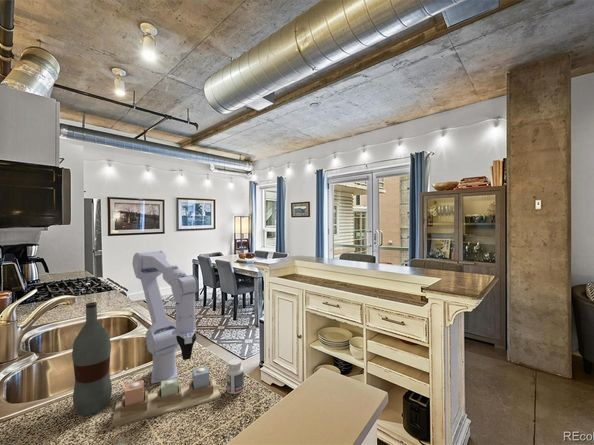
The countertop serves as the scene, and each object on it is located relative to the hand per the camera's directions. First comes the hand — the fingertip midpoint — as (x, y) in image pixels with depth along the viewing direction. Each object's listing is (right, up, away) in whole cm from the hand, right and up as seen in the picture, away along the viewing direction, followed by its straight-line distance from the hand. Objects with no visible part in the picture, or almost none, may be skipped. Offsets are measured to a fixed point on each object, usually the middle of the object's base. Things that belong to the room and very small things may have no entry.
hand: (186, 358), depth 91 cm
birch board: (-3, -11, -4) cm, 12 cm away
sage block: (-3, -10, -4) cm, 11 cm away
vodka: (-25, -11, -7) cm, 28 cm away
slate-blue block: (+5, -8, -1) cm, 9 cm away
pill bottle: (+15, -11, +1) cm, 18 cm away
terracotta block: (-12, -8, -8) cm, 16 cm away
